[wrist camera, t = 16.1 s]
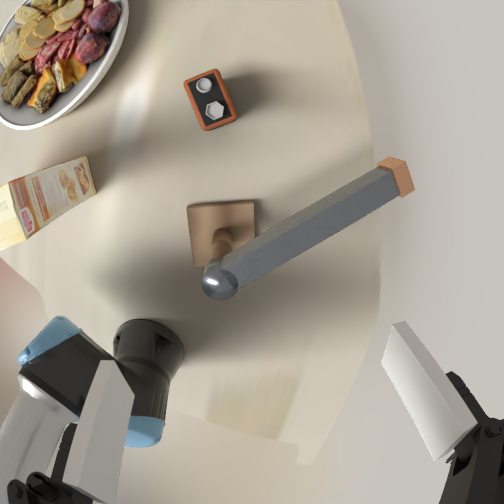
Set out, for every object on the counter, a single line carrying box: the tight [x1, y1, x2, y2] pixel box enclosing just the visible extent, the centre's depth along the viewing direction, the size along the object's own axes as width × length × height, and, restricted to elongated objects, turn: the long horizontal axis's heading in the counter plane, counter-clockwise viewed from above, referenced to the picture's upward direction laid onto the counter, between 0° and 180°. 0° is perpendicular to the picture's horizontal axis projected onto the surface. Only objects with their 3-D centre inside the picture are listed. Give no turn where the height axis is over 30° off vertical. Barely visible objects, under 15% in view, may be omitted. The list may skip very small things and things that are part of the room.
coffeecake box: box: [0, 155, 97, 251], centre depth 29 cm, size 15×7×20 cm, turn 100°
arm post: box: [187, 201, 255, 268], centre depth 39 cm, size 10×10×12 cm
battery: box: [184, 69, 237, 131], centre depth 31 cm, size 4×7×10 cm, turn 20°
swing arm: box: [202, 157, 415, 300], centre depth 30 cm, size 4×26×4 cm, turn 121°
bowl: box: [0, 0, 129, 130], centre depth 24 cm, size 30×30×8 cm
